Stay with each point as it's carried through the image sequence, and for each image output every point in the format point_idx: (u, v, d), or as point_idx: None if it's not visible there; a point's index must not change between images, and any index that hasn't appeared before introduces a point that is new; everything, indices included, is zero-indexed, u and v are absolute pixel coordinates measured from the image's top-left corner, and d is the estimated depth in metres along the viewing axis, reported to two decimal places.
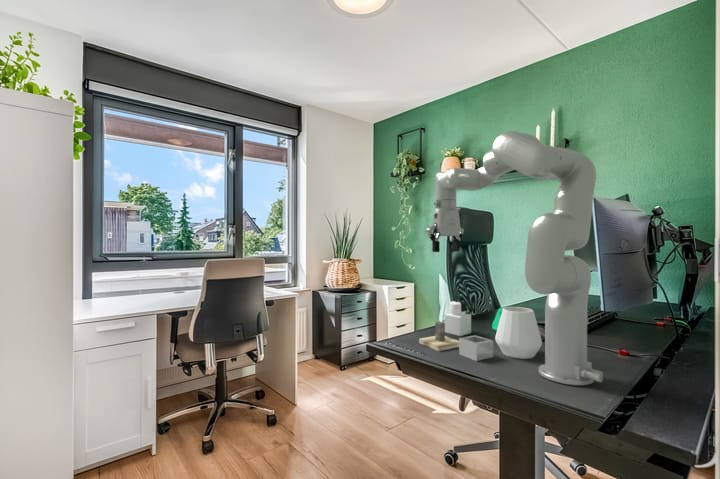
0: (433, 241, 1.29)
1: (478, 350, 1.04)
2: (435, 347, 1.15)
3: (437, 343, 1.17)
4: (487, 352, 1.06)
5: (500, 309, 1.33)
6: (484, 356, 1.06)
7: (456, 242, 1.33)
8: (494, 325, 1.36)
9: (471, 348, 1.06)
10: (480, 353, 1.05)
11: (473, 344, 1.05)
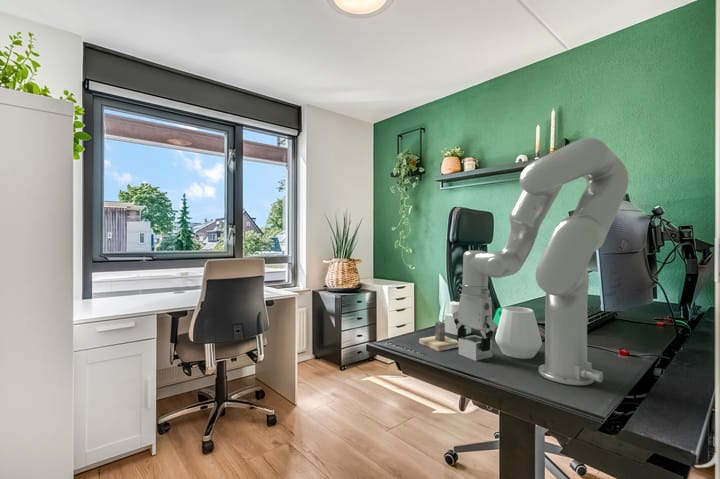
0: (488, 338, 1.04)
1: (477, 350, 1.05)
2: (435, 347, 1.15)
3: (437, 343, 1.17)
4: (486, 352, 1.07)
5: (499, 309, 1.33)
6: (483, 356, 1.06)
7: (464, 330, 1.14)
8: None
9: (470, 348, 1.06)
10: (479, 353, 1.05)
11: (472, 344, 1.05)
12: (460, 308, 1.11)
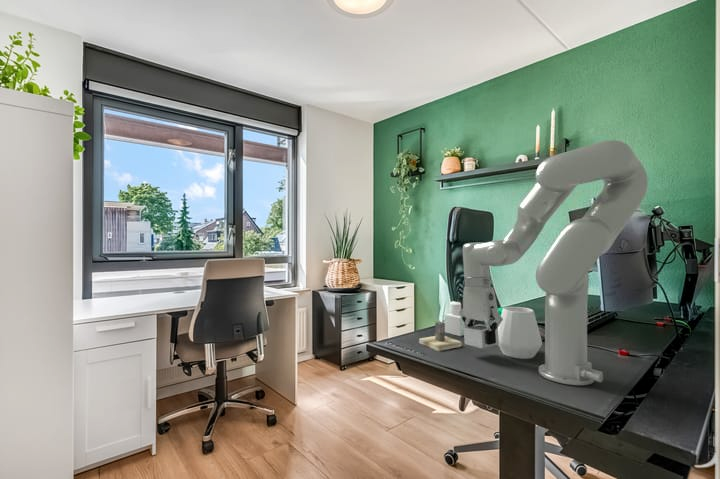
0: (492, 331, 1.04)
1: (483, 337, 1.03)
2: (435, 347, 1.15)
3: (437, 343, 1.17)
4: None
5: (498, 309, 1.33)
6: None
7: None
8: None
9: (476, 336, 1.05)
10: (486, 340, 1.04)
11: (478, 331, 1.04)
12: (464, 302, 1.10)
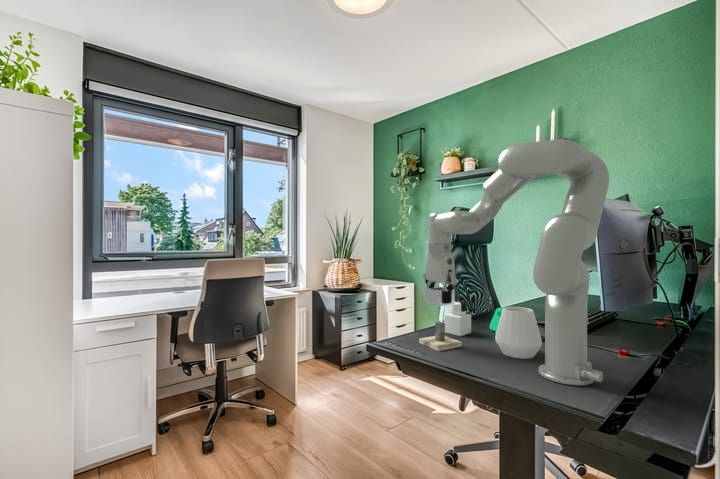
0: (449, 292, 1.16)
1: (440, 296, 1.16)
2: (435, 347, 1.15)
3: (437, 343, 1.17)
4: None
5: (498, 309, 1.32)
6: None
7: None
8: (492, 325, 1.36)
9: (434, 295, 1.17)
10: (442, 299, 1.16)
11: (436, 291, 1.16)
12: (427, 266, 1.22)
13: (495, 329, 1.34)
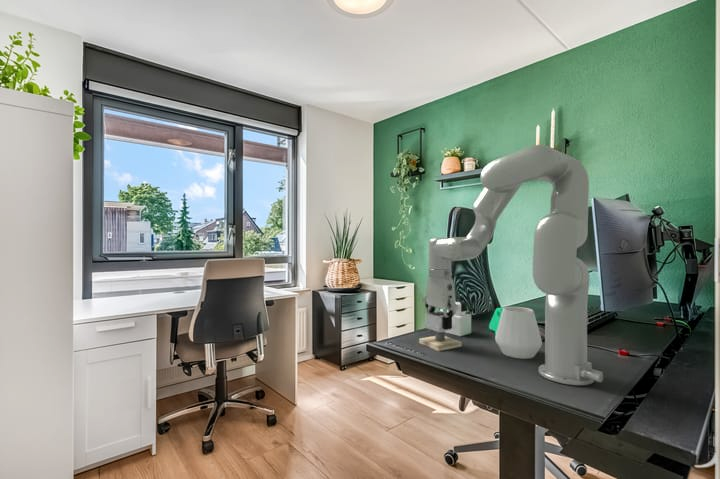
0: (449, 318, 1.16)
1: (440, 322, 1.16)
2: (435, 347, 1.15)
3: (437, 343, 1.17)
4: None
5: (497, 309, 1.32)
6: None
7: None
8: (491, 325, 1.36)
9: (434, 321, 1.17)
10: (442, 325, 1.16)
11: (436, 317, 1.16)
12: (427, 290, 1.22)
13: (494, 329, 1.34)
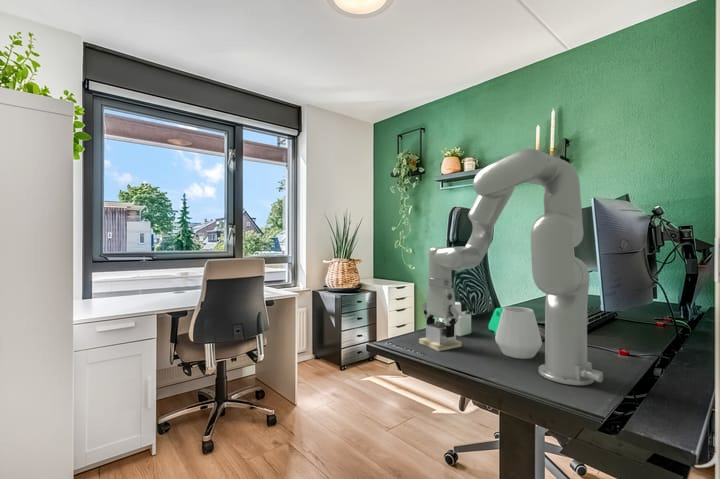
0: (452, 326, 1.15)
1: (441, 335, 1.16)
2: (435, 347, 1.15)
3: None
4: (450, 337, 1.17)
5: (497, 309, 1.32)
6: (447, 340, 1.17)
7: (433, 320, 1.24)
8: (491, 325, 1.36)
9: (435, 333, 1.17)
10: (443, 337, 1.16)
11: (437, 329, 1.16)
12: (428, 299, 1.22)
13: (494, 329, 1.34)
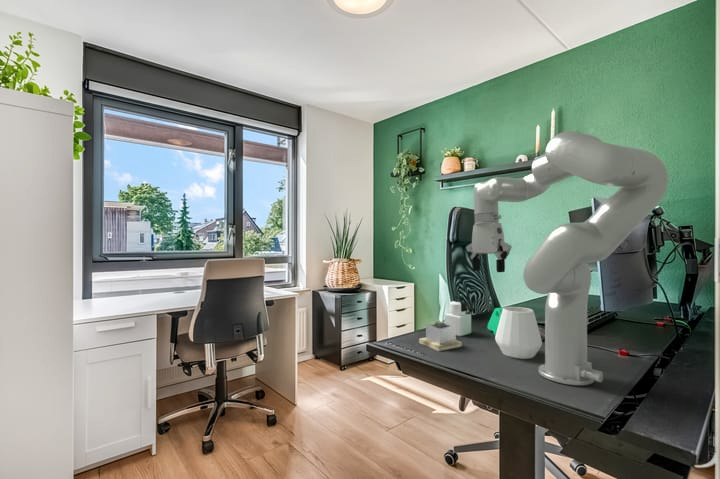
0: (503, 260, 1.12)
1: (441, 335, 1.16)
2: (435, 347, 1.15)
3: None
4: (450, 337, 1.17)
5: (496, 309, 1.32)
6: (447, 340, 1.17)
7: (478, 260, 1.21)
8: (490, 325, 1.36)
9: (435, 333, 1.17)
10: (443, 337, 1.16)
11: (437, 329, 1.16)
12: (473, 238, 1.19)
13: (493, 329, 1.34)
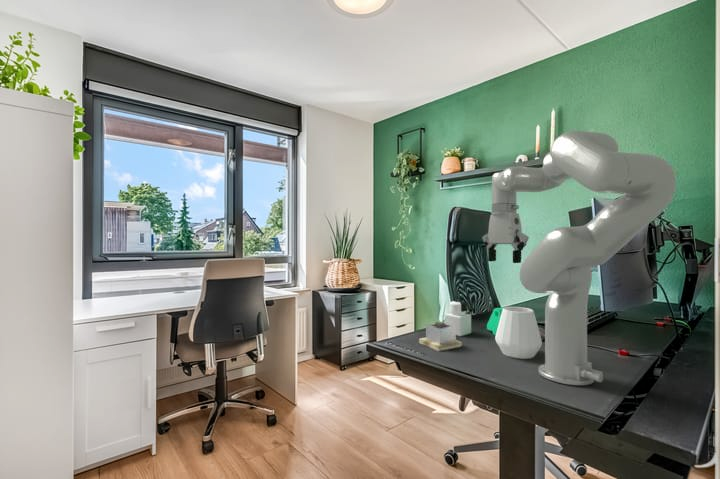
0: (519, 250, 1.11)
1: (441, 335, 1.16)
2: (435, 347, 1.15)
3: None
4: (450, 337, 1.17)
5: (495, 309, 1.32)
6: (447, 340, 1.17)
7: (494, 251, 1.21)
8: (489, 325, 1.36)
9: (435, 333, 1.17)
10: (443, 337, 1.16)
11: (437, 329, 1.16)
12: (490, 228, 1.18)
13: (492, 329, 1.34)
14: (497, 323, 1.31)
